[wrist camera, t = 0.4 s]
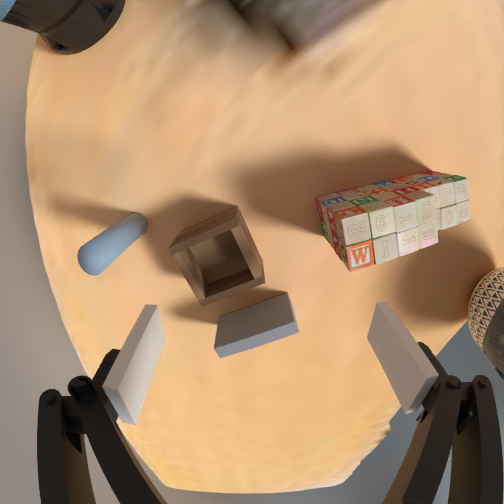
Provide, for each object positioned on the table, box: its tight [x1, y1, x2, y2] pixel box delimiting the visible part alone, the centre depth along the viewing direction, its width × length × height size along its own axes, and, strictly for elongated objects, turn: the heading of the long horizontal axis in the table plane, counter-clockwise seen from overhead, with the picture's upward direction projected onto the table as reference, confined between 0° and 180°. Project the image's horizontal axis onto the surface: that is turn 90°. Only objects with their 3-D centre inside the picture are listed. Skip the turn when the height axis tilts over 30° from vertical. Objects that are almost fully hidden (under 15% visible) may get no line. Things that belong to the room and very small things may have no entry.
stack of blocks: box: [316, 171, 470, 272], centre depth 32 cm, size 21×6×12 cm, turn 106°
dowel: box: [78, 212, 147, 275], centre depth 32 cm, size 4×4×14 cm
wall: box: [214, 292, 299, 358], centre depth 40 cm, size 2×12×8 cm, turn 113°
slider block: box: [169, 206, 265, 306], centre depth 37 cm, size 9×9×7 cm
